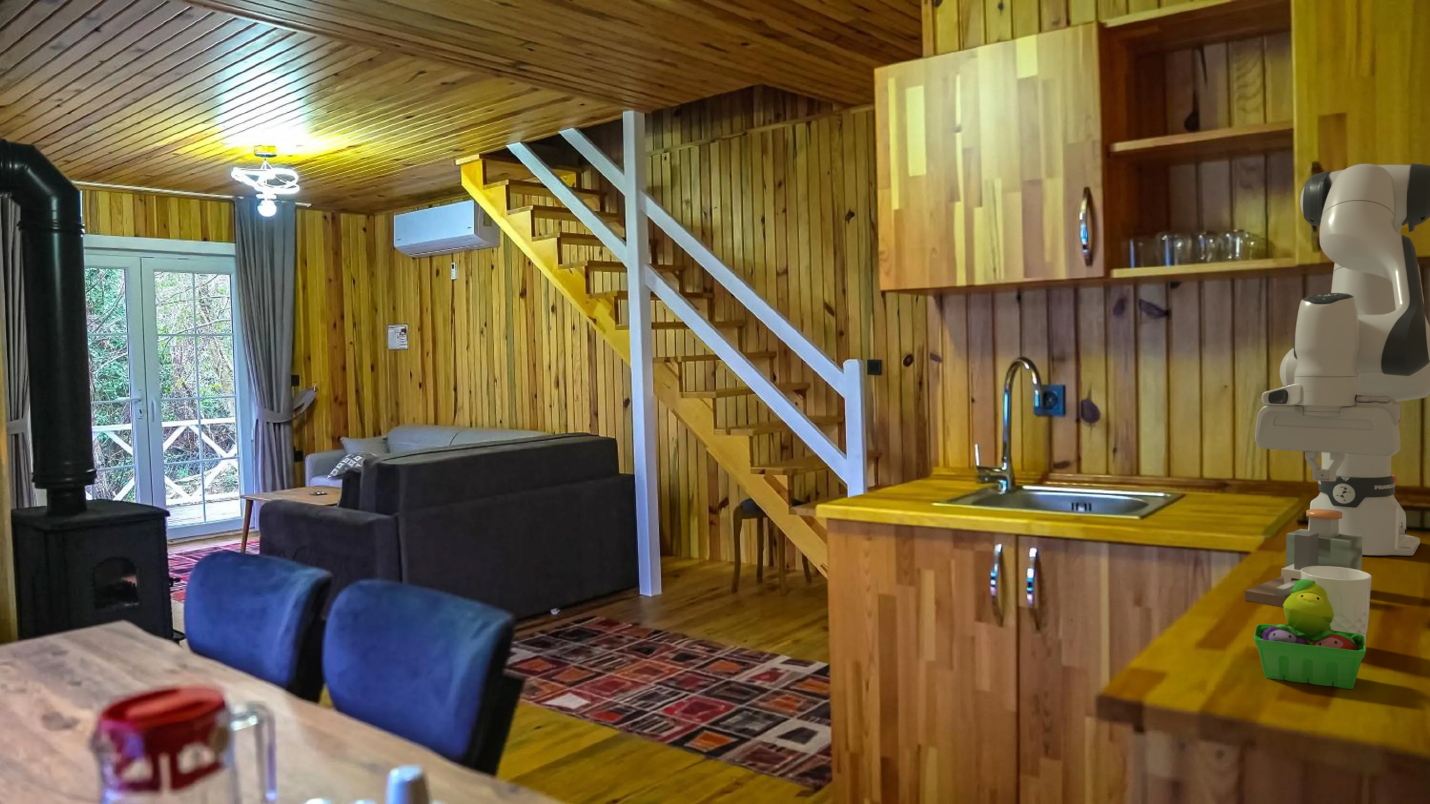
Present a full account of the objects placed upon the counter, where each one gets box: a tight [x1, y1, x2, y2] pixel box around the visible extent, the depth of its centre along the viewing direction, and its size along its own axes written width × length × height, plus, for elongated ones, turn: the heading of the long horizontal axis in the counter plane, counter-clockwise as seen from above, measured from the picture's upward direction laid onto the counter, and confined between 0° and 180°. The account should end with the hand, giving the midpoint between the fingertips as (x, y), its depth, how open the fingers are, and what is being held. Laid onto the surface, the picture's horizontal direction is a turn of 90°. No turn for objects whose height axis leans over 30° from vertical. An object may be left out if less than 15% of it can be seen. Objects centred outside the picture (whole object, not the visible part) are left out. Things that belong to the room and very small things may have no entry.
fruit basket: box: [1253, 579, 1367, 690], centre depth 121 cm, size 11×9×11 cm
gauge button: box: [1305, 508, 1342, 538], centre depth 161 cm, size 5×5×4 cm
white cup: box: [1301, 566, 1372, 643], centre depth 131 cm, size 8×8×10 cm
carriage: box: [1280, 531, 1319, 584], centre depth 157 cm, size 6×5×8 cm
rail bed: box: [1244, 528, 1363, 607], centre depth 157 cm, size 20×10×8 cm, turn 129°
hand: (1324, 480), depth 161 cm, fingers closed
